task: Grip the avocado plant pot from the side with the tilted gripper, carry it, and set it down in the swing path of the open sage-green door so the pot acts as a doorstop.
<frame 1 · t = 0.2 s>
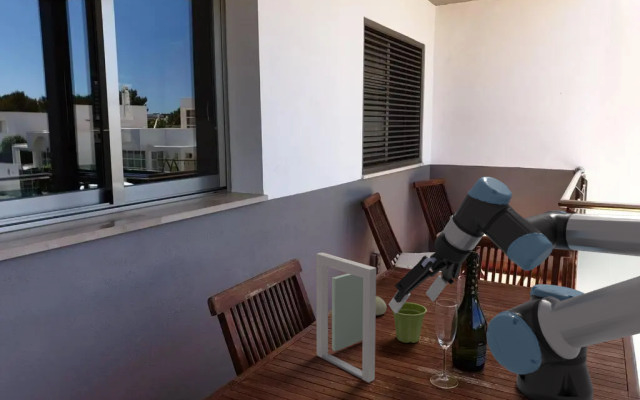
hand: (412, 302, 120), 15 cm above the table, tool tilted 35°, fingers open, 13 cm apart
door frame: (344, 366, 120), on the table
door: (350, 307, 130), point 11 cm above the table, hinge at 90.0°
sea urchin shell: (371, 312, 155), on the table
plant pot: (408, 339, 136), on the table
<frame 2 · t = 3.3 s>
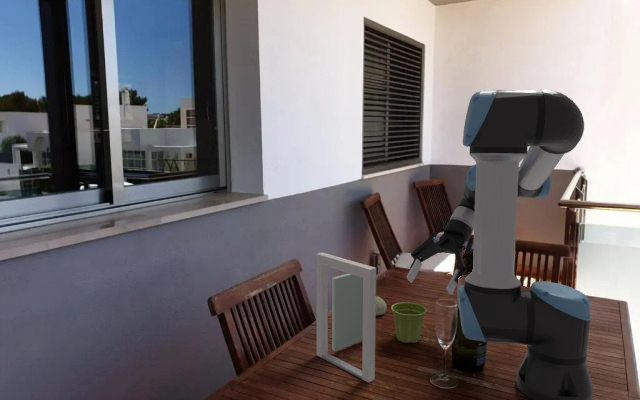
hand: (428, 285, 140), 13 cm above the table, tool tilted 45°, fingers open, 13 cm apart
nothing on the table moved.
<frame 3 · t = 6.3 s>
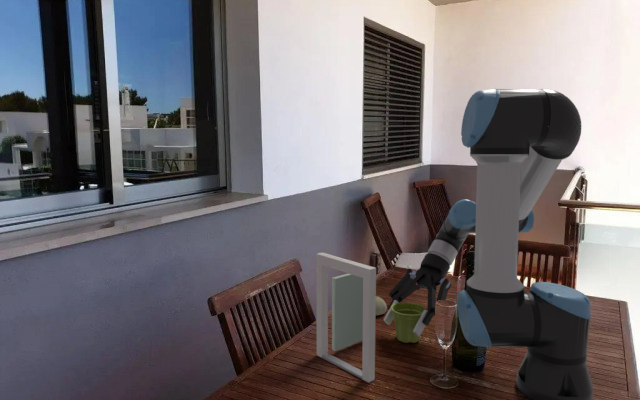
hand: (400, 328, 133), 4 cm above the table, tool tilted 45°, fingers closed on plant pot, 9 cm apart
plant pot: (408, 339, 136), on the table, touching gripper
everything else where it was.
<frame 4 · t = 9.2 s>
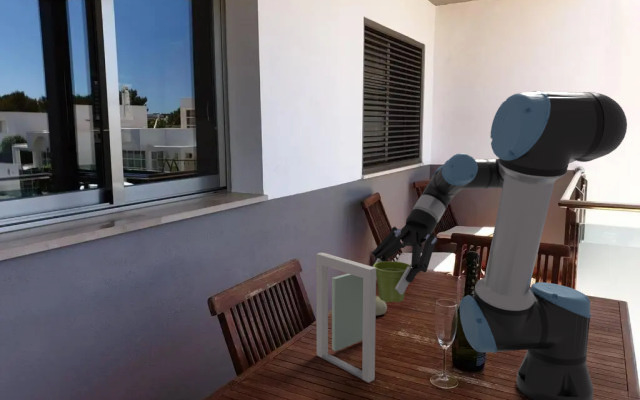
hand: (383, 286, 124), 18 cm above the table, tool tilted 45°, fingers closed on plant pot, 9 cm apart
plant pot: (391, 299, 127), point 14 cm above the table, touching gripper
everything else where it was.
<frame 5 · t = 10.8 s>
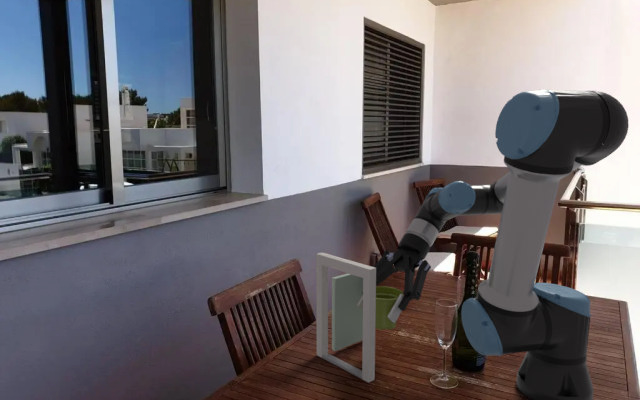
hand: (375, 313, 122), 12 cm above the table, tool tilted 45°, fingers closed on plant pot, 9 cm apart
door: (350, 307, 130), point 11 cm above the table, hinge at 90.9°
plant pot: (383, 326, 125), point 8 cm above the table, touching gripper
everything else where it was.
when the fingers open (5 cm above the table, at t = 12.5 s): plant pot drops 1 cm, on the table.
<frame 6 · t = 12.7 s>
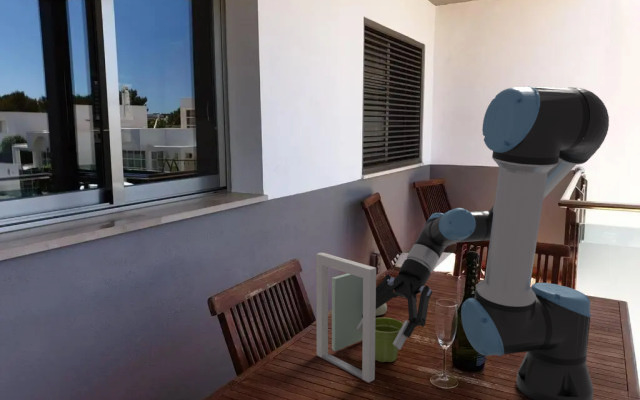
hand: (377, 339, 122), 6 cm above the table, tool tilted 45°, fingers open, 11 cm apart
door: (350, 307, 130), point 11 cm above the table, hinge at 91.2°, touching gripper, hand
plant pot: (384, 358, 125), on the table
everything else where it was.
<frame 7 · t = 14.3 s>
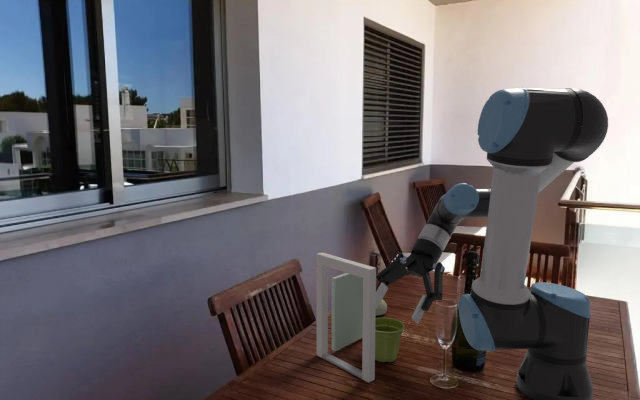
hand: (393, 313, 127), 10 cm above the table, tool tilted 45°, fingers open, 13 cm apart
door: (348, 306, 131), point 11 cm above the table, hinge at 96.4°
everything else where it was.
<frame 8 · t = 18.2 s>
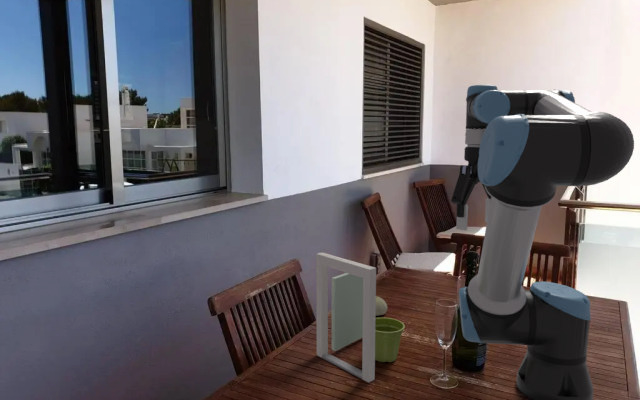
hand: (476, 226, 133), 31 cm above the table, tool pointing down, fingers open, 13 cm apart
nothing on the table moved.
at the end: plant pot inside the target area (0.1 cm from its centre), on the table; plant pot tilted 0°; door at +96° (first picture: +90°) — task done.
